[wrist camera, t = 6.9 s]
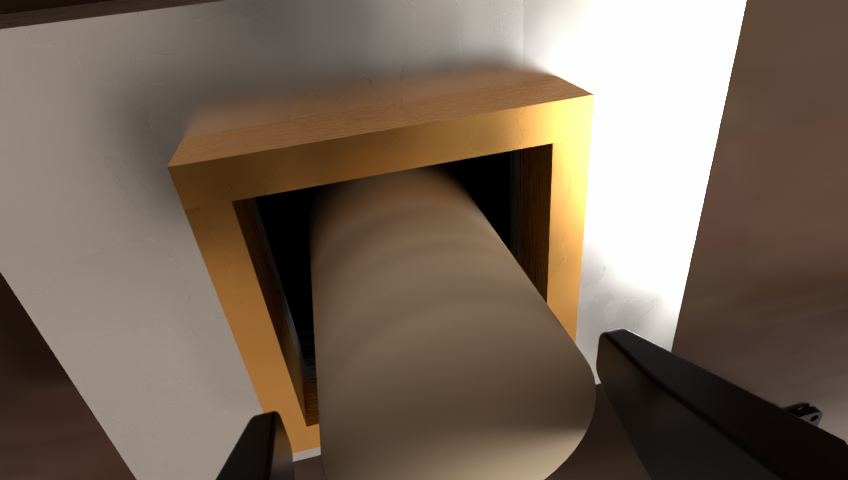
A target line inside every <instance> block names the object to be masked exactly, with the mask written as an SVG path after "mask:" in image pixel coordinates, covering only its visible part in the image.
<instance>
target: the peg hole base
mask: <svg viewBox="0 0 848 480" xmlns="http://www.w3.org/2000/svg"><path fill="white" fill-rule="evenodd" d="M745 3H746V0H113V1H105V2H97V3H88V4H80V5H72V6H64V7H56V8H48V9H40V10H32V11H24V12H16V13H8V14H0V272H1V274H2V275H3V277H4V278H5V280H6V281H7V283H8V284H9V286H10V287H11V289H12V290H13V292H14V293H15V295H16V296H17V298H18V299H19V301H20V303H21V304H22V306H23V307H24V309H25V310H26V312H27V313H28V315H29V316H30V318H31V319H32V321H33V322H34V324H35V325H36V327H37V328H38V330H39V332H40V333H41V335H42V336H43V338H44V339H45V341H46V342H47V344H48V345H49V347H50V348H51V350H52V351H53V353H54V354H55V356H56V357H57V359H58V360H59V362H60V364H61V365H62V367H63V368H64V370H65V371H66V373H67V374H68V376H69V377H70V379H71V380H72V382H73V383H74V385H75V386H76V388H77V389H78V391H79V393H80V394H81V396H82V397H83V399H84V400H85V402H86V403H87V405H88V406H89V408H90V409H91V411H92V412H93V414H94V415H95V417H96V418H97V420H98V422H99V423H100V425H101V426H102V428H103V429H104V431H105V432H106V434H107V435H108V437H109V438H110V440H111V441H112V443H113V444H114V446H115V447H116V449H117V450H118V452H119V454H120V455H121V457H122V458H123V460H124V461H125V463H126V464H127V466H128V467H129V469H130V470H131V472H132V473H133V475H134V476H135V478H136V479H137V480H215V479H216V478H217V476H218V474H219V472H220V471H221V469H222V467H223V465H224V464H225V462H226V460H227V458H228V457H229V455H230V453H231V452H232V450H233V448H234V446H235V445H236V443H237V441H238V439H239V438H240V436H241V434H242V432H243V431H244V429H245V427H246V425H247V424H248V422H249V420H250V419H251V418H252V417H253V416H255V415H258V414H263V413H267V412H271V411H277V412H278V413H279V414H280V416H281V418H282V421H283V424H284V427H285V429H286V432H287V435H288V438H289V440H290V444H291V448H292V454H293V462H294V461H298V460H302V459H306V458H310V457H314V456H318V455H321V449H320V430H319V412H318V393H317V374H316V356H315V337H314V329H311V330H306V331H302V332H297V333H296V329H295V326H294V323H293V320H292V316H291V313H290V310H289V306H288V303H287V300H286V297H285V293H284V290H283V287H282V283H281V280H280V277H279V274H278V270H277V267H276V264H275V260H274V257H273V254H272V251H271V247H270V244H269V241H268V237H267V234H266V231H265V228H264V224H263V221H262V218H261V214H260V211H259V208H258V205H257V201H256V198H255V197H258V196H264V195H269V194H275V193H280V192H286V191H291V190H297V189H302V188H308V187H313V186H319V185H324V184H330V183H335V182H341V181H346V180H352V179H357V178H363V177H368V176H374V175H379V174H385V173H390V172H396V171H401V170H407V169H413V168H418V167H424V166H429V165H435V164H440V163H446V162H451V161H457V160H462V159H468V158H473V157H479V156H484V155H490V154H495V153H501V152H506V151H510V228H511V254H512V256H513V257H514V258H515V260H516V261H517V263H518V264H519V265H520V267H521V268H522V270H523V271H524V272H525V274H526V275H527V277H528V278H529V279H530V281H531V282H532V284H533V285H534V286H535V288H536V289H537V291H538V292H539V294H540V295H541V296H542V298H543V299H544V301H545V302H546V303H547V305H548V306H549V308H550V309H551V310H552V312H553V313H554V315H555V316H556V317H557V319H558V320H559V322H560V323H561V324H562V326H563V327H564V329H565V330H566V332H567V333H568V334H569V336H570V337H571V339H572V340H573V341H574V343H575V344H576V346H577V347H578V348H579V350H580V351H581V353H582V354H583V355H584V357H585V359H586V360H587V362H588V363H589V365H590V367H591V369H592V372H593V375H594V378H595V384H599V383H601V382H600V380H599V377H598V375H597V371H596V359H597V350H598V341H599V336H600V335H601V333H603V332H605V331H610V330H614V329H618V328H624V329H627V330H629V331H631V332H633V333H635V334H637V335H639V336H641V337H643V338H645V339H647V340H648V341H650V342H652V343H654V344H656V345H658V346H660V347H662V348H664V349H666V350H668V351H670V352H671V349H672V344H673V339H674V335H675V330H676V325H677V321H678V316H679V311H680V307H681V302H682V297H683V293H684V288H685V283H686V279H687V274H688V269H689V265H690V260H691V255H692V251H693V246H694V241H695V237H696V232H697V227H698V223H699V218H700V213H701V209H702V204H703V199H704V195H705V190H706V185H707V181H708V176H709V171H710V167H711V162H712V157H713V153H714V148H715V143H716V139H717V134H718V129H719V125H720V120H721V115H722V111H723V106H724V101H725V97H726V92H727V87H728V83H729V78H730V73H731V69H732V64H733V59H734V55H735V50H736V45H737V41H738V36H739V31H740V27H741V22H742V17H743V13H744V8H745Z"/></svg>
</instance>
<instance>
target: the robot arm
mask: <svg viewBox="0 0 848 480" xmlns="http://www.w3.org/2000/svg"><path fill="white" fill-rule="evenodd" d="M596 371H597V375H598V377H599V380H600V382H601V384H602V386H603V388H604V390H605V392H606V394H607V396H608V398H609V400H610V402H611V404H612V406H613V408H614V410H615V412H616V414H617V416H618V418H619V420H620V422H621V424H622V427H623V429H624V431H625V433H626V435H627V437H628V439H629V441H630V443H631V445H632V447H633V448H634V450H635V452H636V454H637V456H638V458H639V459H640V461H641V463H642V464H643V466H644V468H645V469H646V471H647V473H648V474H649V476H650V477H651V479H652V480H848V445H847V443H846V442H845V441H844V440H842V439H840V438H838V437H836V436H834V435H832V434H830V433H828V432H826V431H825V430H823V429H821V428H819V427H817V426H818V424H819V422H820V420H821V417H822V412H821V411H820V410H818V409H817V408H816V407H814V406H812V407H808V408H804V409H801V410H797V411H793V412H790V413H789V412H787V411H785V410H783V409H781V408H780V407H778V406H776V405H774V404H772V403H770V402H768V401H766V400H764V399H762V398H760V397H758V396H756V395H754V394H752V393H750V392H748V391H746V390H744V389H742V388H740V387H738V386H737V385H735V384H733V383H731V382H729V381H727V380H725V379H723V378H721V377H719V376H717V375H715V374H713V373H711V372H709V371H707V370H705V369H703V368H701V367H699V366H697V365H695V364H693V363H692V362H690V361H688V360H686V359H684V358H682V357H680V356H678V355H676V354H674V353H672V352H670V351H668V350H666V349H664V348H662V347H660V346H658V345H656V344H654V343H652V342H650V341H648V340H647V339H645V338H643V337H641V336H639V335H637V334H635V333H633V332H631V331H629V330H627V329H624V328H618V329H614V330H610V331H605V332H603V333H601V335H600V336H599V341H598V350H597V359H596ZM215 480H294V467H293V454H292V448H291V444H290V440H289V438H288V435H287V432H286V429H285V427H284V424H283V421H282V418H281V416H280V414H279V413H278V412H277V411H271V412H267V413H263V414H258V415H255V416H253V417H252V418H251V419H250V420H249V422H248V424H247V425H246V427H245V429H244V431H243V432H242V434H241V436H240V438H239V439H238V441H237V443H236V445H235V446H234V448H233V450H232V452H231V453H230V455H229V457H228V458H227V460H226V462H225V464H224V465H223V467H222V469H221V471H220V472H219V474H218V476H217V478H216V479H215Z"/></svg>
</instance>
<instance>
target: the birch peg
mask: <svg viewBox="0 0 848 480" xmlns="http://www.w3.org/2000/svg"><path fill="white" fill-rule="evenodd" d="M309 244H310V263H311V281H312V300H313V319H314V337H315V356H316V374H317V393H318V412H319V430H320V449H321V461H322V466H323V471H324V474H325V476H326V478H327V480H544V479H546V478H547V477H548V476H549V475H550V474H552V473H553V472H554V471H555V470H556V469H557V468H558V467H559V466H560V465H561V464H562V463H563V462H564V461H565V460H566V459H567V458H568V457H569V456H570V455H571V453H572V452H573V451H574V450H575V449H576V447H577V446H578V444H579V443H580V441H581V440H582V438H583V437H584V435H585V433H586V431H587V429H588V427H589V425H590V422H591V419H592V417H593V414H594V409H595V404H596V384H595V378H594V375H593V372H592V369H591V367H590V365H589V363H588V362H587V360H586V359H585V357H584V355H583V354H582V353H581V351H580V350H579V348H578V347H577V346H576V344H575V343H574V341H573V340H572V339H571V337H570V336H569V334H568V333H567V332H566V330H565V329H564V327H563V326H562V324H561V323H560V322H559V320H558V319H557V317H556V316H555V315H554V313H553V312H552V310H551V309H550V308H549V306H548V305H547V303H546V302H545V301H544V299H543V298H542V296H541V295H540V294H539V292H538V291H537V289H536V288H535V286H534V285H533V284H532V282H531V281H530V279H529V278H528V277H527V275H526V274H525V272H524V271H523V270H522V268H521V267H520V265H519V264H518V263H517V261H516V260H515V258H514V257H513V256H512V254H511V253H510V251H509V250H508V248H507V247H506V246H505V244H504V243H503V241H502V240H501V239H500V237H499V236H498V234H497V233H496V232H495V230H494V229H493V227H492V226H491V225H490V223H489V222H488V220H487V219H486V218H485V216H484V215H483V213H482V212H481V210H480V209H479V208H478V206H477V205H476V203H475V202H474V201H473V199H472V198H471V196H470V195H469V194H468V192H467V191H466V189H465V188H464V187H463V185H462V184H461V182H460V181H459V180H458V178H457V177H456V175H455V174H454V173H453V172H452V171H451V170H450V169H449V168H448V167H447V166H446V165H444V164H443V163H440V164H435V165H429V166H424V167H418V168H413V169H407V170H401V171H396V172H390V173H385V174H379V175H374V176H368V177H363V178H357V179H352V180H346V181H341V182H335V183H330V184H324V185H322V186H321V188H320V189H319V191H318V192H317V194H316V197H315V199H314V201H313V204H312V207H311V210H310V216H309Z"/></svg>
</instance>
